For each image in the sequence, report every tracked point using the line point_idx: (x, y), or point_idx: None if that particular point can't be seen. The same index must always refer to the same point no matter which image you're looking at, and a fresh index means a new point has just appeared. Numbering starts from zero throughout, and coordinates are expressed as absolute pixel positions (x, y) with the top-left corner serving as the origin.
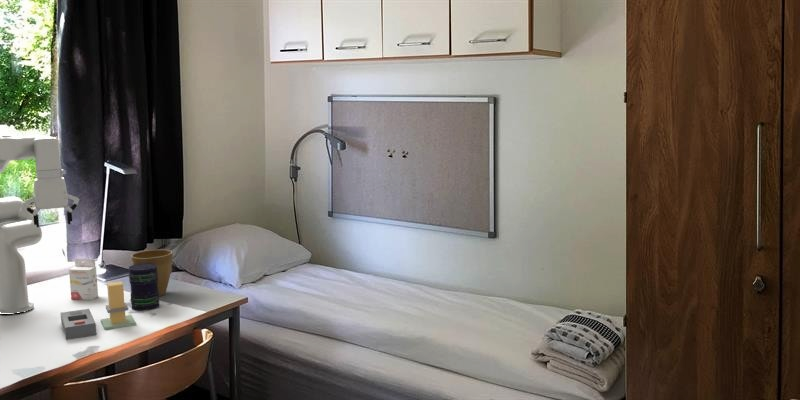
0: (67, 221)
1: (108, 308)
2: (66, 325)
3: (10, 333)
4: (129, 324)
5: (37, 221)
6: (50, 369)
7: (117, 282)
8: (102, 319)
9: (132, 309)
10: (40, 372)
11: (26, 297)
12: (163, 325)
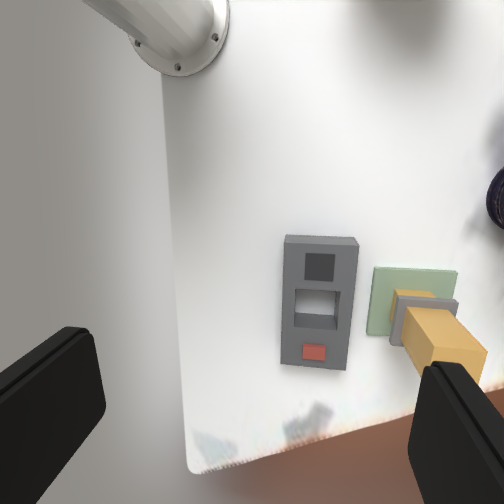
0: (430, 394)
1: (397, 330)
2: (284, 352)
3: (179, 243)
4: None
5: (49, 471)
6: (244, 461)
7: (468, 360)
8: (379, 272)
9: (486, 200)
10: (230, 463)
11: (200, 19)
12: (494, 373)
